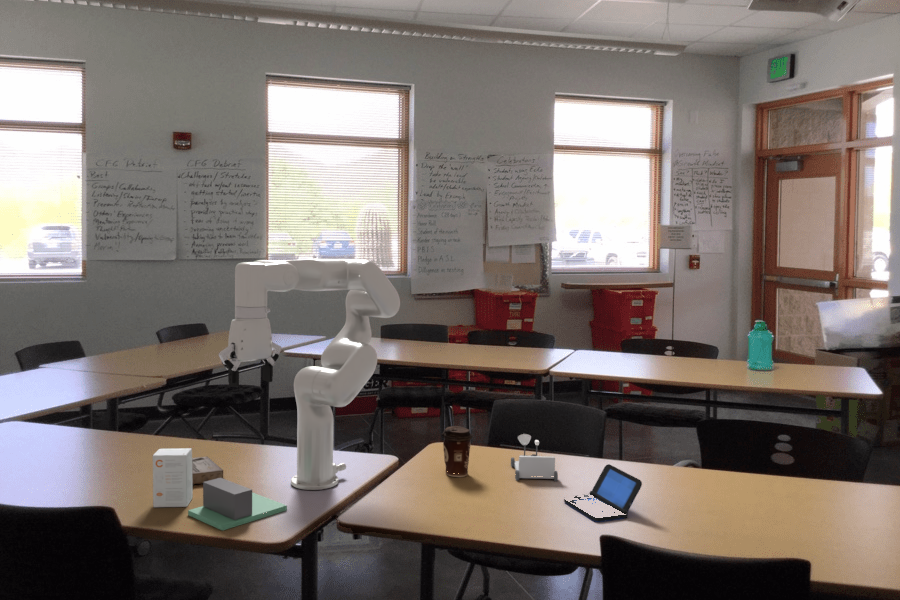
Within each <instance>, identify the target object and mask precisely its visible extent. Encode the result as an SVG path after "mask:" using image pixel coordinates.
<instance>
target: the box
mask: <svg viewBox="0 0 900 600" xmlns="http://www.w3.org/2000/svg"><path fill="white" fill-rule="evenodd" d="M217 478H223V479H224V469H222V468H221V467H220V466H219V465H218V464H217V463H216V462H214V461H213V460H212V459H211V458H210V456H209V457H208V456H200V457H198V456H197V457H192V483H193V485H192V486H194V485H197V484H198V485H203V482H205V481H209V480H213V479H217Z"/></svg>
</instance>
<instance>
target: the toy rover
mask: <svg viewBox="0 0 900 600" xmlns="http://www.w3.org/2000/svg"><path fill="white" fill-rule="evenodd" d="M531 439H532V436H531V435H530V434H529V433H528V434H527V433H525V432H523V434H522V433H521V434H520V435H517V440H518V441H519V443H520V444H521V445H522V446H523V454H521V455H518V460H515V457H511V458H510V467H511V468H514V469H515V471H514V472H515V473H514V479H515V481H520V479H545V480H546V479H547V480H548V479H550V480H551V479H552V480H553V481H554V482H558V481H559V480H558V479H559V476H558V475H559V474H558V471H557V470H555V469H556V457H555V456H546V455H545V456H544V455H543V456H541V455H538V446H539V445H540V441H539V439H535V440H534V444H535V453H534V454H533V453H532V454H531V455H530V454H529V455H526V446H527V445H528V444H529V443H530V441H531ZM515 474H516V475H515ZM531 476H533V477H531ZM534 476H536V477H534ZM537 476H543V477H537ZM551 476H554V477H551Z"/></svg>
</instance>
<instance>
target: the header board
mask: <svg viewBox="0 0 900 600" xmlns="http://www.w3.org/2000/svg"><path fill="white" fill-rule="evenodd" d="M286 511H288V506H287V505H286V504H285V503H282V502H279V501H276V500H274V499H271V498H269V497H265V496H263V495H261V494H257V493H255V492H253V491H252V515H250V516H246V517H243V518H240V519H237V520H233V519H231V518H229V517H226V516H224V515H222V514H219V513H217V512H215V511H212V510H210V509H208V508H205V507H203V505H202V506H198V507H195V508H191V509H188V511H187V515H188V516H189V517H191V518H193V519H196V520H198V521H200V522H203V524H206V525H208V526H211V527H214V528H216V529H217V530H220V531H221V532H222V531H225V530H226V531H227V530H228V529H229V530H230V529H232V528H235V527H238V526H241V525H244V524H248V523H251V522H254V521H257V520H261V519H263V518H266V517H270V516H273V515H277V514H279V513H282V512H286ZM266 512H267V513H266ZM263 513H264V514H263Z"/></svg>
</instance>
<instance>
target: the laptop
mask: <svg viewBox="0 0 900 600" xmlns="http://www.w3.org/2000/svg"><path fill="white" fill-rule="evenodd" d="M642 486H643V482H642V481H641V479H639V478H637V477H635V476H633V475H632V474H629V473H627V472H625V471H623V470H622V469H620V468H618V467H615V466H614V465H611V464H606V465H605V466H604V468H603V470H602V471H601V473H600V475H599V476H598V479H597V480H596V481H595V484H594V486H593V488H592V490H590V491H589V494H590V495H593V496H594V498H596V500H597V499H598V500H599V501H601V502H603V503H605V504H607V505H610V506H612V507H613V508H615V509H617V510H619V511H621V512H622V513H624V514H626V513H627V515H618V516H611V517H603V518H595V517H593V516H591V515H589V514H588V513H586V512H584V511H583V510H581V509H579V508H578V507H576V506H575V505H573V504H571V503H570V502H572V503H575V504H576V502H574V501H577V500H572V501H570V502H568V501H566V500H565V499H563V502H564V503H565V504H567V506H569V507H570V508H572V509H574V510H575V511H577V512H578V513H580V514H582V515H583V516H584V517H586V518H587V519H589V520H591V521H593V522H595V523H603V522H609V521H618V520H623V519H628V512H629V510H630V509H631V507H632V505H633V503H634V501H635V499H636V497H637V495H638V494H639V492H640V491H641V488H642ZM583 495H584V497H589V496H588V495H585V494H583ZM574 496H575V497H574V498H578V499H579V500H584V499H580V498H581V497H577V496H578V495H574ZM594 498H593V501H594V500H595V499H594ZM587 499H588V501H589V500H591V499H592V498H587ZM585 500H586V499H585ZM595 503H596V502H595ZM592 504H593V503H592ZM602 512H603V511H602ZM614 513H615V512H614Z"/></svg>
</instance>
